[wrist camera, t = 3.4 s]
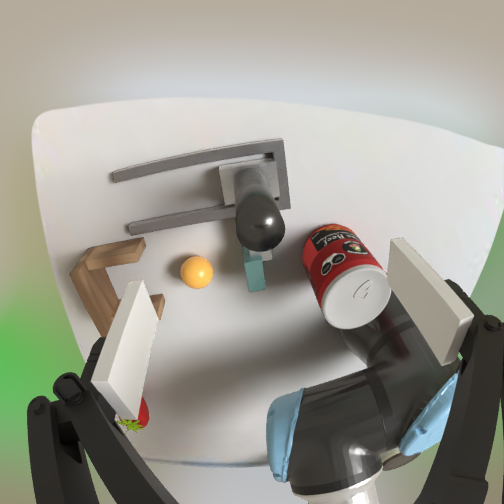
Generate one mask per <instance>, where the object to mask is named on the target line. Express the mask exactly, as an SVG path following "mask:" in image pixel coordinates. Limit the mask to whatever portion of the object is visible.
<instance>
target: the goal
mask: <svg viewBox="0 0 504 504" xmlns="http://www.w3.org/2000/svg"><path fill="white" fill-rule="evenodd" d="M145 247H146V244H145V241H144V238H143V237H142V238H137V239H132V240H126V241H121V242H116V243H111V244H106V245H101V246H96V247H91V248H89V249H88V250H87V251H86V253H85V254H84V255H83V257H82V258H81V259H80V261H79V262H78V263H77V265H76V266H75V267H74V269H73V270H72V271H71V273H70V276H71V278H72V281H73V283H74V285H75V287H76V289H77V291H78V293H79V295H80V297H81V299H82V301H83V303H84V305H85V307H86V309H87V311H88V313H89V315H90V317H91V319H92V320H93V322H94V324H95V326H96V328H97V329H98V331H99V333H100V335H101V337H107V335H108V332H109V330H110V327H111V325H112V322H113V320H114V317H115V315H116V312H117V310H118V307H119V305H120V303H121V300H122V299H121V300H118V298H117V295H116V293H115V291H114V288H113V286H112V284H111V282H110V279H109V277H108V274H107V272H106V270H105V267H110V266H116V265H122V264H128V263H134V262H138V261H139V259H140V257H141V255H142V253H143V251H144V249H145ZM149 297H150V299H151V302H152V304H153V307H154V309H155V312H156V314H157V316H158V319H159V320H161V316H162V312H163V308H164V304H165V299H164V296H163V294H160V295H152V296H149Z"/></svg>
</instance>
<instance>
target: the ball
mask: <svg viewBox="0 0 504 504" xmlns="http://www.w3.org/2000/svg"><path fill="white" fill-rule="evenodd" d="M212 277H213V268H212V266H211V264H210V262H209V261H208V260H206V259H205V258H203V257H200V256H194V257H190V258H188V259H187V260H186V261H185V262H184V263H183V265H182V267H181V278H182V280H183V282H184V283H185V284H186V285H187V286H188V287H190V288H193V289H201V288H204V287H205V286H207V285H208V284H209V283H210V281H211V280H212Z"/></svg>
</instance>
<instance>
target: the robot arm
mask: <svg viewBox="0 0 504 504" xmlns="http://www.w3.org/2000/svg"><path fill="white" fill-rule="evenodd" d="M386 282H387V284H388V285H389V286H390V288H391V295H390V298H389V301H388V303H387V305H386V306H385V308H384V309H383V310H382V312H381V313H380V314H379V315H378V316H377V317H376V318H374V319H373V320H372V321H370V322H369V323H367V324H365V325H363V326H360V327H357V328H352V329H340V328H339V331H340V334H341V336H342V338H343V341H344V343H345V344H346V346H347V347H348V348H349V349H350V350H351V351H352V352H353V353H354V354H355V355H356V356H357V357H358V358H360V359H361V360H362V361H363V362H364V363H365V364H366V365H367V369H364V370H361V371H358V372H355V373H352V374H349V375H347V376H344V377H341V378H338V379H335V380H332V381H328V382H325V383H322V384H319V385H316V386H312V387H309V388H301V389H300V390H299V391H296V392H293V393H290V394H287V395H284V396H281V397H278V398H277V399H275V400H274V401H273V402H272V404H271V405H270V407H269V410H268V414H267V422H266V442H267V453H268V459H269V465H270V469H271V471H272V472H273V476H274V479H275V480H276V481H278V482H284V483H285V482H287V481H289V482H290V484H291V488H292V491H293V493H294V495H296V496H298V497H300V498H302V499H305V500H307V501H308V503H309V504H379V500H378V496H377V491H376V487H375V483H374V481H375V479H376V478H377V477H378V475H379V474H380V472H381V471H382V469H383V465H382V461H381V457H380V455H381V454H383V453H385V452H387V451H390V450H392V449H395V448H397V447H399V448H398V449H399V452H401V453H402V454H403V455H405V456H410V455H413V454H415V453H420V452H422V451H424V450H426V449H428V448H429V447H431V446H433V445H434V444H436V443H437V442H439V441H440V440H441V442H440V445H439V448H438V451H437V454H436V457H435V459H434V462H433V465H432V467H431V470H430V472H429V475H428V477H427V480H426V482H425V485H424V487H423V489H422V491H421V494H420V495H419V497H418V498H417V500H416V501H415V502H414V504H483V503H484V501H485V498H486V494H487V491H488V482H487V481H486V480H485V474H486V470H487V466H488V462H489V459H490V454H491V450H492V445H493V441H494V435H495V430H496V424H497V417H498V412H499V403H500V399H501V407H502V420H503V436H504V323H502V322H501V321H500V320H499V319H498V318H497V317H495V316H492V315H484V314H483V313H482V311H481V310H480V309H479V308H478V307H477V306H476V304H474V302H473V301H472V300H471V299H470V298H469V297H468V295H467V294H466V293H465V292H463V290H462V289H461V288H460V286H459V285H458V284H456V283H455V282H453V281H451V280H450V279H447V280H443V279H442V278H441V277H440V276H439V274H438V273H437V272H436V271H435V270H434V269H433V268H432V267H431V266H430V265H429V264H428V263H427V262H426V261H425V260H424V258H423V257H422V256H421V255H420V254H419V253H418V252H417V251H416V250H415V249H414V248H413V247H412V246H411V245H410V244H409V243H408V242H407V241H406V240H405V239H404V238H403V237H402V238H397V239H391V242H390V253H389V263H388V272H387V280H386ZM158 320H159V319H158V316H157V314H156V312H155V309H154V307H153V304H152V302H151V299H150V297H149V294H148V292H147V289H146V287H145V284H144V281H143V279H141V280H134V281H130V282H129V284H128V286H127V288H126V291H125V293H124V295H123V298H122V300H121V303H120V305H119V307H118V310H117V312H116V315H115V317H114V320H113V322H112V325H111V327H110V330H109V332H108V335H107V337H100V338H99V339H98V340H97V341H96V342H95V344H94V345H93V347H92V349H91V352H90V356H89V357H88V359H87V362H86V365H85V367H84V370H83V373H82V375H81V378H79V377H78V376H77V375H76V374H75V373H72V372H69V373H65V374H63V375H61V376H60V377H59V378H57V380H56V381H55V383H54V385H53V393H54V394H55V395H56V396H57V397H58V399H59V400H57V401H54V402H50V401H49V400H48V399H47V398H46V397H45V396H38V397H36V398H34V399H33V400H32V401H31V402H30V403H29V406H28V409H27V425H28V442H29V454H30V463H31V473H32V480H33V486H34V492H35V498H36V503H37V504H99V501H98V498H97V495H96V491H95V488H94V485H93V482H92V478H91V474H90V471H89V467H88V463H87V459H86V455H85V450H86V452H87V454H88V456H89V458H90V460H91V462H92V463H93V465H94V467H95V469H96V470H97V472H98V474H99V476H100V477H101V479H102V481H103V482H104V484H105V486H106V487H107V489H108V491H109V492H110V494H111V495H112V497H113V498H114V500H115V501H116V503H117V504H179V503H178V502H177V501H176V500H175V499H174V498H173V497H172V495H171V494H170V493H169V492H168V491H167V489H166V488H165V487H164V486H163V485H162V484H161V482H160V481H159V480H158V479H157V477H156V476H155V475H154V474H153V472H152V471H151V470H150V469H149V467H148V466H147V465H146V464H145V462H144V461H143V459H142V458H141V457H140V455H139V454H138V453H137V451H136V450H135V448H134V447H133V446H132V444H131V443H130V441H129V440H128V438H127V437H126V436H125V434H124V433H123V431H122V430H121V428H120V427H119V425H118V424H117V422H116V421H115V420H114V419H115V414H116V413H117V414H118V415H119V417H120V418H121V419H124V420H138V414H139V409H140V403H141V398H142V393H143V388H144V383H145V378H146V373H147V368H148V363H149V359H150V354H151V350H152V345H153V341H154V337H155V332H156V328H157V324H158ZM459 352H460V354H461V355H462V357H463V358H462V360H460V359H459V357H458V356H457V355H458V353H459ZM84 449H85V450H84ZM503 477H504V476H503ZM502 504H504V478H503V493H502Z"/></svg>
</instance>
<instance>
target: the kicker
mask: <svg viewBox="0 0 504 504" xmlns="http://www.w3.org/2000/svg"><path fill="white" fill-rule="evenodd" d="M219 175H220V180H221V186H222V191H223V196H224V202H225V205H230V204H235V214H236V231H237V237H238V239H239V241H240V243H241V244H242V248H243V259H244V266H245V272H246V277H247V283H248V288H249V292H253V291H259V290H265V289H266V284H265V277H264V270H263V264H262V261H267V260H272V252H271V249H273V248H274V247H276V246H277V245H278V244H279V243H280V242H281V241H282V239H283V237H284V233H285V224H284V221H283V219H282V216H281V214H280V211H279V209H278V207H277V204H276V202H275V200H274V198H275V197H280V192H279V183H278V175H277V167H276V161H275V159H274V158H266V159H259V160H252V161H246V162H239V163H233V164H227V165H221V166H219Z"/></svg>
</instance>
